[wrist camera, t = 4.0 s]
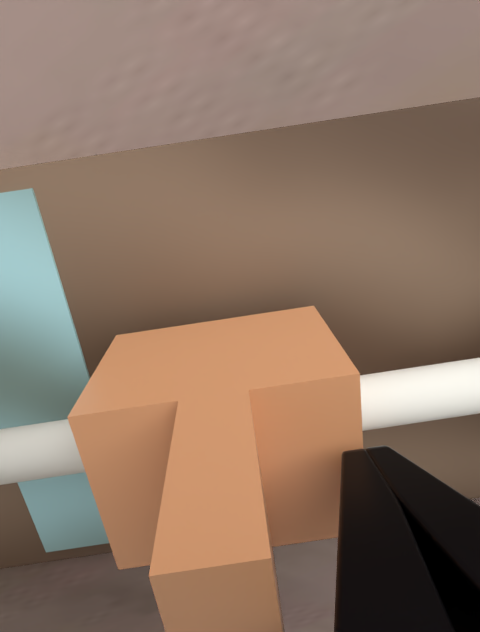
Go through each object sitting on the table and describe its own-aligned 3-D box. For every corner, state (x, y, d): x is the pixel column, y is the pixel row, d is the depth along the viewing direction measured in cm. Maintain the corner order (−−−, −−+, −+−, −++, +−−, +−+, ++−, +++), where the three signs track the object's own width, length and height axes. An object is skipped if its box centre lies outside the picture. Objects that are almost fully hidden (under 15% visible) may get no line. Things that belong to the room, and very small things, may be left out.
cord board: (556, 451, 15) (592, 482, 14) (-69, 544, 15) (-100, 585, 14) (611, 80, 11) (672, 68, 10) (-247, 210, 11) (-320, 217, 10)
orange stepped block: (324, 426, 12) (452, 743, 5) (147, 452, 12) (61, 799, 5) (313, 305, 10) (465, 529, 4) (115, 335, 10) (-45, 604, 4)
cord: (690, 360, 10) (749, 384, 9) (-125, 482, 10) (-167, 521, 9) (702, 314, 10) (766, 334, 9) (-147, 441, 10) (-196, 477, 9)
